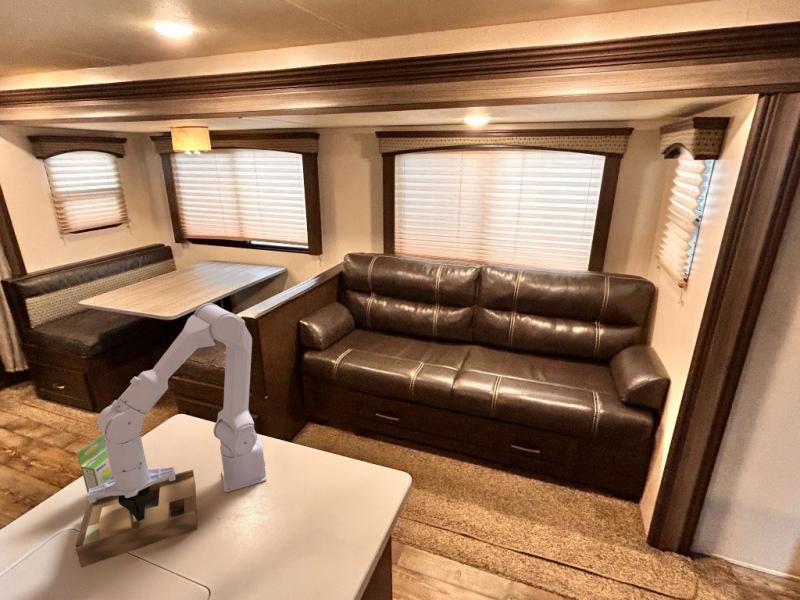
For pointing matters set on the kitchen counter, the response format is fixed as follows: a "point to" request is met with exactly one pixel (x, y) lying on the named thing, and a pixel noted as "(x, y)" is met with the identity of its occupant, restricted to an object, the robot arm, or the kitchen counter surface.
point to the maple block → (115, 520)
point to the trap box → (164, 519)
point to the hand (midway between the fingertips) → (141, 516)
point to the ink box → (95, 464)
